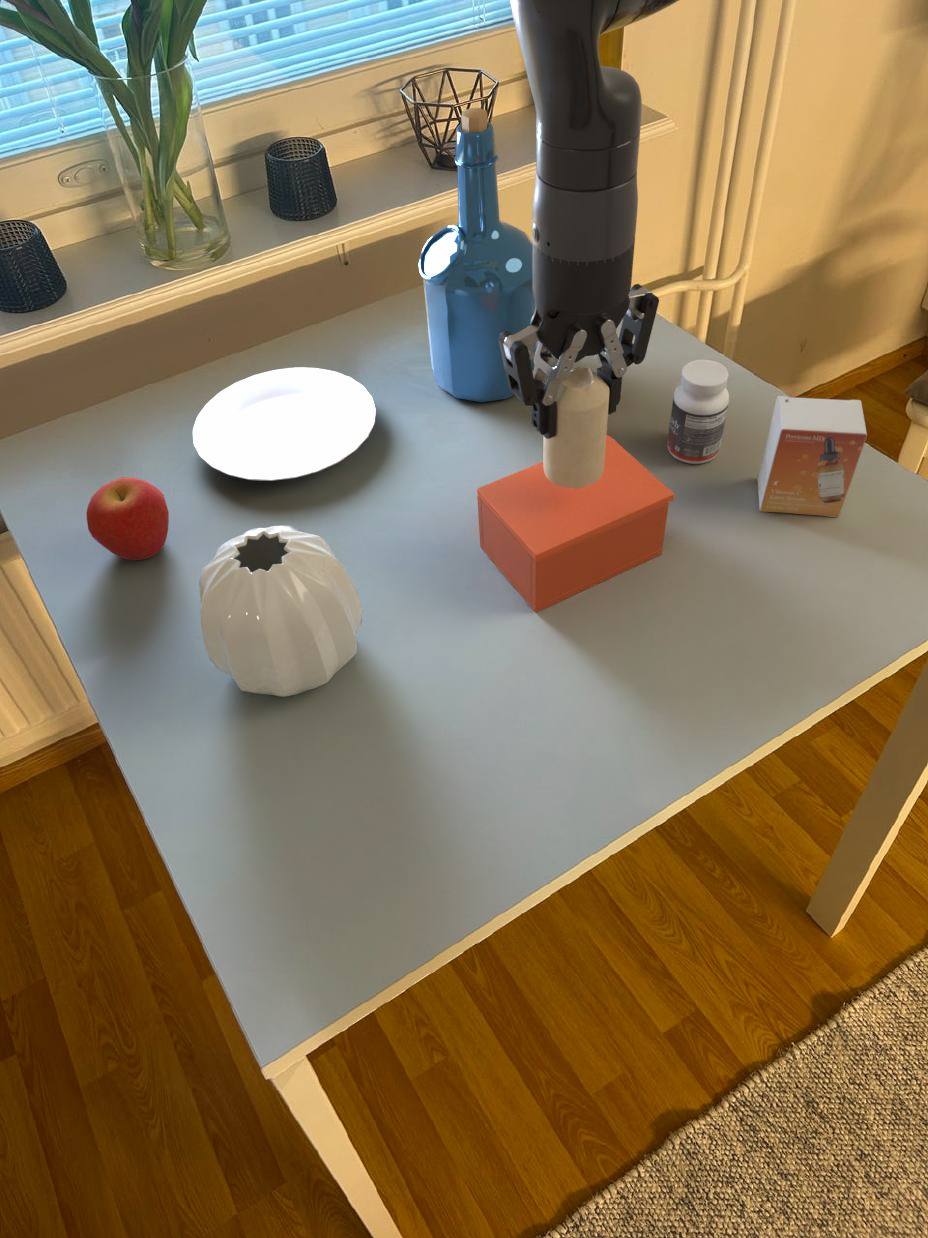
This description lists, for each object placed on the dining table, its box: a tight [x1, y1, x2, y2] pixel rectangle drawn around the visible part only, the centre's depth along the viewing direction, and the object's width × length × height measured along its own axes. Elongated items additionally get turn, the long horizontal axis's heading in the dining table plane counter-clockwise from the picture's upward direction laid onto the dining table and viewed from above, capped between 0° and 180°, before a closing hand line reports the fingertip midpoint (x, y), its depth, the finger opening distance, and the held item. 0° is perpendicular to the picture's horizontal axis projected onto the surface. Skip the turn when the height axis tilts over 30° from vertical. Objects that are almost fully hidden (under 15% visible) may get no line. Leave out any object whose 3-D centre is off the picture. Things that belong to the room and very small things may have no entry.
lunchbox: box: [476, 495, 670, 613], centre depth 90 cm, size 15×11×7 cm
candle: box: [542, 366, 609, 488], centre depth 81 cm, size 6×6×10 cm
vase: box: [198, 525, 363, 698], centre depth 81 cm, size 14×14×13 cm
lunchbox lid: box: [476, 434, 675, 561], centre depth 88 cm, size 15×11×1 cm
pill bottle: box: [666, 359, 730, 465], centre depth 99 cm, size 6×6×10 cm
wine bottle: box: [418, 107, 540, 403], centre depth 102 cm, size 14×13×30 cm
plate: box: [192, 366, 377, 482], centre depth 107 cm, size 21×21×2 cm
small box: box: [757, 395, 868, 518], centre depth 92 cm, size 8×6×10 cm
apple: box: [85, 476, 170, 561], centre depth 94 cm, size 8×8×8 cm
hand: (576, 420), depth 81 cm, fingers closed on candle, 5 cm apart
